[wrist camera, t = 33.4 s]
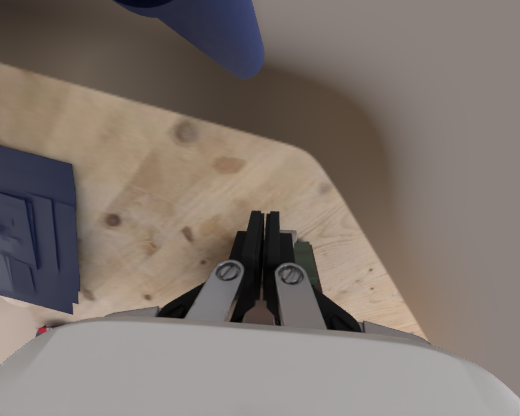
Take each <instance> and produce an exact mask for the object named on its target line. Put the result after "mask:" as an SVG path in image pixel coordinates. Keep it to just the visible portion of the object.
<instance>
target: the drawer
mask: <svg viewBox="0 0 520 416" xmlns="http://www.w3.org/2000/svg"><path fill="white" fill-rule="evenodd" d="M280 233H292V239H293V248H294V257H295V264H297V265H299V266H301V267H302V268H303V269H304V270H305V271H306V273H307V276H308V278H309V281H310V284H311V285H315V286H316V282H317V276H316V271H315V267H314V262H313V258H312V253H311V249H310V244H309V242H301V241H297V232H296V231H295V230H280ZM264 238H265V229H264ZM261 283H263V270H262V281H261Z"/></svg>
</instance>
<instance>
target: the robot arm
mask: <svg viewBox="0 0 520 416" xmlns="http://www.w3.org/2000/svg"><path fill="white" fill-rule="evenodd" d="M262 270H263V301H267V302H266V308H267V309H268V310H269V311H270V312H271V313H272V314H273V321H274V325H260V324H247V323H245V321H246V318H247V312H248V311H249V310H250V309H252V308H253V307H255V304H256V300H260V292H261V281H262ZM0 416H520V399H519V398H518V397H517V396H516V395H515V394H514V393H513V392H512V391H511V390H510V389H509V388H508V387H507V386H506V385H505V384H503V383H502V382H501V381H500V380H499V379H497V378H496V377H495V376H493V375H492V374H491V373H489V372H488V371H486V370H484V369H483V368H481V367H480V366H478V365H476V364H474V363H473V362H471V361H469V360H467V359H464V358H463V357H461V356H458V355H456V354H453V353H451V352H449V351H446V350H444V349H441V348H439V347H436V346H433V345H431V344H430V343H429V342H428V341H426V340H425V339H423V338H421V337H419V336H416V335H413V334H410V333H406V332H403V331H399V330H396V329H392V328H388V327H385V326H381V325H378V324H374V323H371V322H367V321H363V323H361V322H357V321H356V320H355V319H354V318H353V317H352V316H351V315H350V314H349V313H347V312H346V311H345V310H343V309H342V308H341V307H339V306H338V305H337V304H335V303H334V302H333V301H332V300H330V299H329V298H328V297H326V296H325V295H324V294H322V293H321V292H320V291H318V290H317V289H316V288H314V287H313V286H312V285H311V284H310V281H309V278H308V276H307V273H306V271H305V270H304V269H303V268H302V267H301V266H299V265H297V264H295V257H294V248H293V239H292V233H280V226H279V212H278V211H270V214H267V217H266V227H265V238H264V213H261V211H252V212H251V216H250V220H249V224H248V228H247V231H238V232H237V235H236V238H235V241H234V244H233V248H232V251H231V254H230V257H229V260H226V261H223V262H220V263H219V264H217V265H216V266H215V268H214V269H213V271H212V272H211V274H210V276H209V278H208V279H207V281H206V282H204V283H202V284H201V285H199V286H197V287H196V288H194V289H192V290H190V291H189V292H187V293H185V294H183V295H182V296H180V297H178V298H177V299H175V300H173V301H171V302H170V303H168V304H167V305H165V306H164V307H163V308H160V309H159V306H156V307H150V308H143V309H136V310H130V311H123V312H116V313H112V314H109V315H106V316H105V317H96V318H90V319H84V320H80V321H76V322H72V323H69V324H65V325H62V326H59V327H56V328H54V329H51V330H49V331H47V332H44V333H43V334H41V335H39V336H37V337H35V338H34V339H32V340H31V341H29V342H28V343H26V344H25V345H24V346H22V347H21V348H20V349H19V350H17V351H16V352H15V353H13V354H12V355H11V356H10V357H9V358H7V359H6V360H5V361H4V362H3V363H2V364H0Z"/></svg>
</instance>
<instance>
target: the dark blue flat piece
mask: <svg viewBox="0 0 520 416" xmlns="http://www.w3.org/2000/svg"><path fill="white" fill-rule="evenodd" d="M75 211H76V202H75V187H74V181H73V171H72V164H68V163H64V162H60V161H57V160H53V159H49V158H45V157H41V156H37V155H33V154H29V153H25V152H22V151H18V150H14V149H10V148H6V147H2V146H0V295H1V296H5V297H9V298H13V299H17V300H21V301H24V302H28V303H32V304H35V305H39V306H43V307H46V308H50V309H54V310H57V311H61V312H65V313H69V314H72V315H73V305H72V302H73V303H76V304H78V291H80V275H79V266H78V249H77V232H76V215H75Z"/></svg>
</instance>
